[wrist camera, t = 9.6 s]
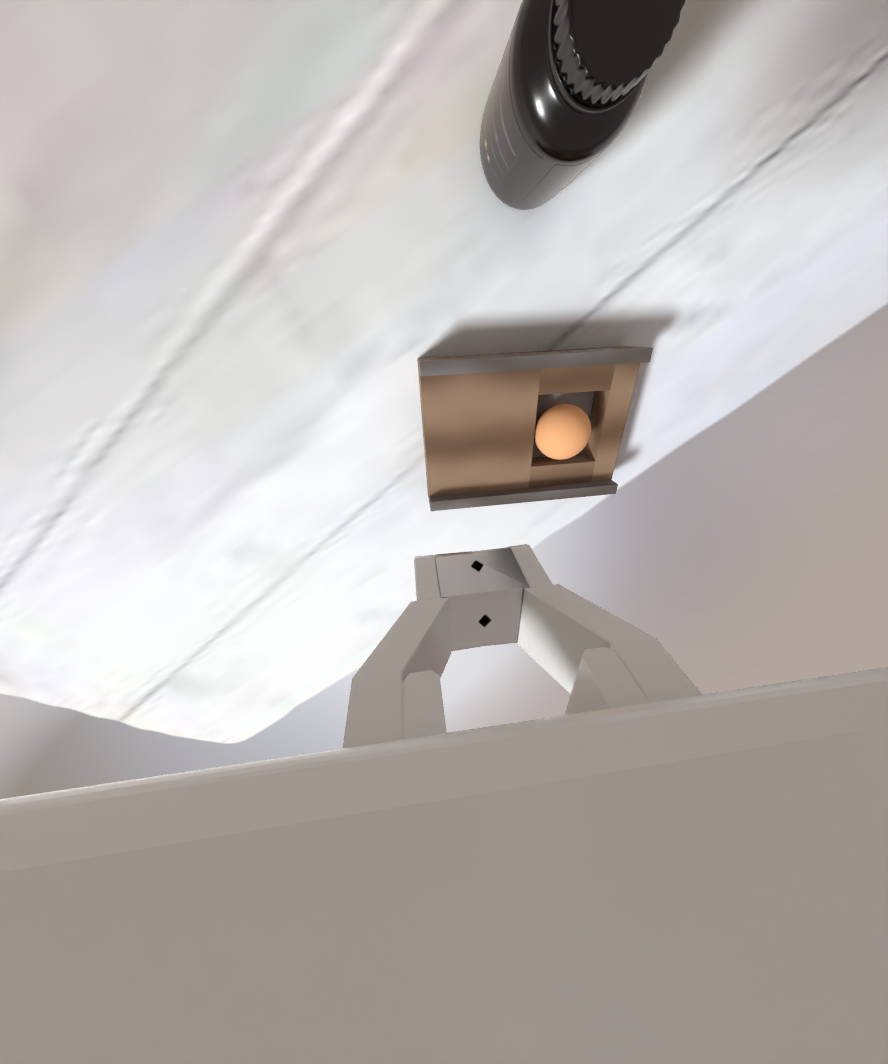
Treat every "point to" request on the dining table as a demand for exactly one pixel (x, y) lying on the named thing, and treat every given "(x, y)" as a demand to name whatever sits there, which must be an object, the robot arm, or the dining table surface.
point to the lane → (520, 424)
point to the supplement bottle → (567, 90)
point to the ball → (562, 431)
